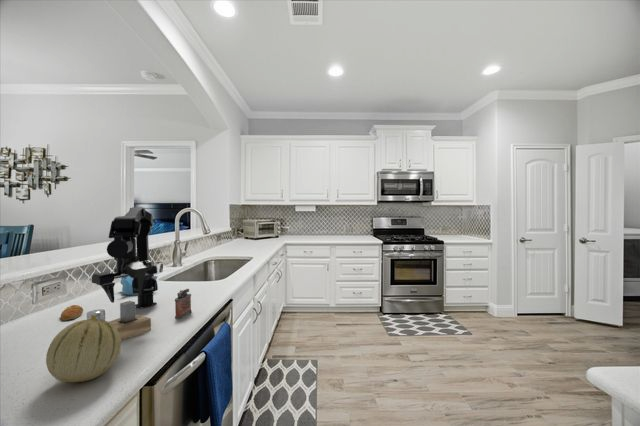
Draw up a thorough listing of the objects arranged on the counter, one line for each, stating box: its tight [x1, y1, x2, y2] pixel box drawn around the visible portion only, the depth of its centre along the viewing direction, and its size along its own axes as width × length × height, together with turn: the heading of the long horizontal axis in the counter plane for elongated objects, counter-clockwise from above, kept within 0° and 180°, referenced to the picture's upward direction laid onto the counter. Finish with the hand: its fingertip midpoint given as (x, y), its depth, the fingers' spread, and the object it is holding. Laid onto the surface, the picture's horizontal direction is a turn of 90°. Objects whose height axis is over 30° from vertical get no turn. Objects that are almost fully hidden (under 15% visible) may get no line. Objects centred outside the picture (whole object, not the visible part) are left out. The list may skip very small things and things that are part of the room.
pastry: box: [60, 304, 84, 322], centre depth 116 cm, size 9×7×4 cm
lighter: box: [174, 288, 192, 320], centre depth 117 cm, size 8×3×10 cm, turn 168°
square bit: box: [119, 300, 136, 324], centre depth 101 cm, size 3×3×10 cm
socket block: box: [108, 313, 152, 342], centre depth 101 cm, size 10×10×4 cm
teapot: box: [119, 275, 159, 296], centre depth 151 cm, size 15×15×11 cm
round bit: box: [86, 308, 106, 321], centre depth 105 cm, size 5×5×6 cm
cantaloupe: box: [45, 315, 122, 383], centre depth 74 cm, size 15×15×15 cm
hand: (127, 298), depth 101 cm, fingers open, 9 cm apart
